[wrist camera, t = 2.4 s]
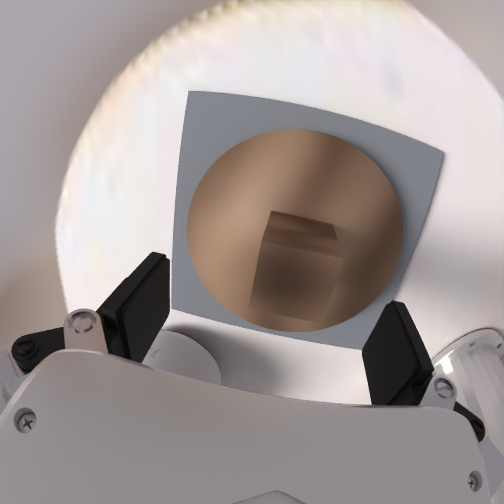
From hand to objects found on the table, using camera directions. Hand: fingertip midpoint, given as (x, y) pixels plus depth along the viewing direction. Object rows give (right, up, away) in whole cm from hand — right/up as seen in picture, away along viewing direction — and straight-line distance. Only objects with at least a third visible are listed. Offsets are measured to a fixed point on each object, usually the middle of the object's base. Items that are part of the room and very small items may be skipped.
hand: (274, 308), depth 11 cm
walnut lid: (+2, +3, +8) cm, 9 cm away
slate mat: (+2, +3, +9) cm, 10 cm away
